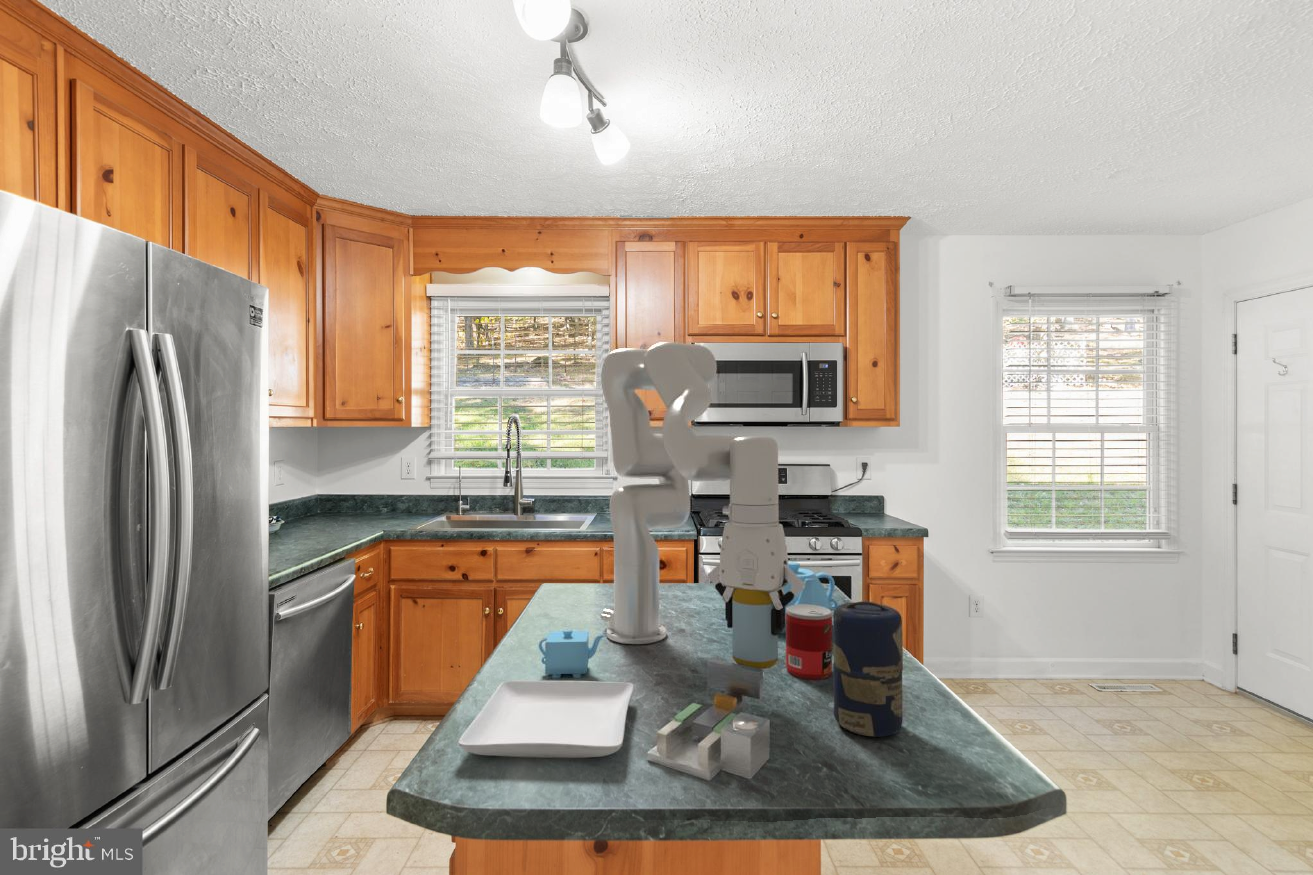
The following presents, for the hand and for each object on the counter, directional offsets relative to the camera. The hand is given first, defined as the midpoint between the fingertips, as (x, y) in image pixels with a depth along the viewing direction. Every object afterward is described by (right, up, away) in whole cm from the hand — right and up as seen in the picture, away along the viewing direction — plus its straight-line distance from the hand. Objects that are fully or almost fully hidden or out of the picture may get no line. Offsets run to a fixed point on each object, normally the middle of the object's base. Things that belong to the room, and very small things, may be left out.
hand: (754, 628), depth 97 cm
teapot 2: (+15, -12, +40) cm, 44 cm away
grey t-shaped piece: (-6, -10, -10) cm, 15 cm away
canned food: (+12, -12, +13) cm, 21 cm away
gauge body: (-8, -12, -16) cm, 22 cm away
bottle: (0, -5, 0) cm, 5 cm away
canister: (+15, -12, -8) cm, 21 cm away
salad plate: (-30, -12, -9) cm, 33 cm away
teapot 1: (-30, -12, +13) cm, 35 cm away
